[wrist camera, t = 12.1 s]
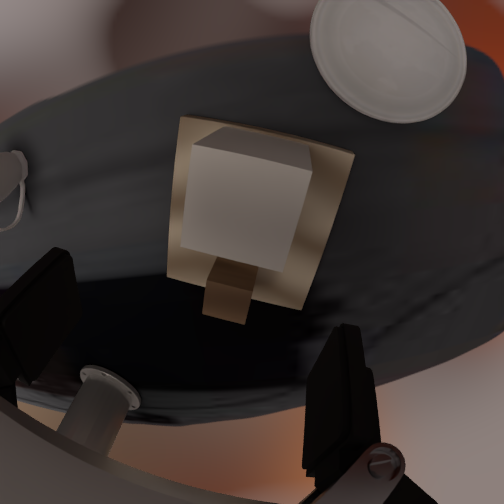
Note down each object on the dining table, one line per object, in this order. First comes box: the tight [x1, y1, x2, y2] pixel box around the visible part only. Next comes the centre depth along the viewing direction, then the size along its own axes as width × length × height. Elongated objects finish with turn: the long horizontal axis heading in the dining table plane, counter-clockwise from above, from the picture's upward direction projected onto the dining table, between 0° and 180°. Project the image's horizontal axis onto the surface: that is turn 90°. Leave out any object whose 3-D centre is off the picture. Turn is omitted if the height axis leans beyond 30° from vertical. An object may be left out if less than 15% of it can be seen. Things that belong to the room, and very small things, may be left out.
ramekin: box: [310, 0, 467, 123], centre depth 17 cm, size 11×11×5 cm
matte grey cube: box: [180, 126, 313, 272], centre depth 21 cm, size 7×7×8 cm
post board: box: [167, 115, 355, 325], centre depth 25 cm, size 16×14×7 cm
